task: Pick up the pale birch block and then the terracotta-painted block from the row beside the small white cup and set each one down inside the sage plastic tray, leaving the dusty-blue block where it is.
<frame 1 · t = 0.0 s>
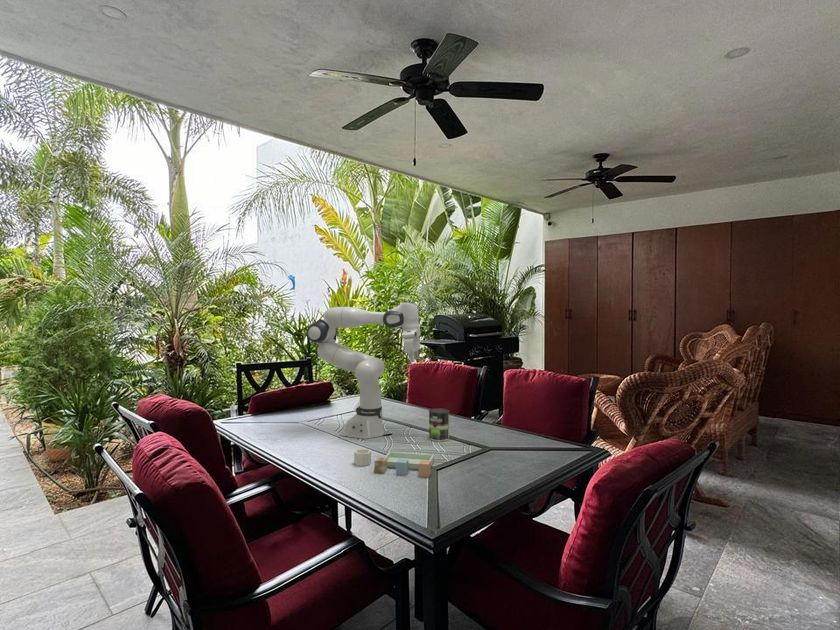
hand: (414, 360, 221), 39 cm above the table, tool pointing down, fingers open, 8 cm apart
terracotta block: (424, 475, 172), on the table
birch block: (380, 471, 175), on the table
coffee can: (439, 438, 219), on the table
blue block: (402, 473, 174), on the table
tray: (408, 464, 183), on the table
cup: (362, 463, 184), on the table
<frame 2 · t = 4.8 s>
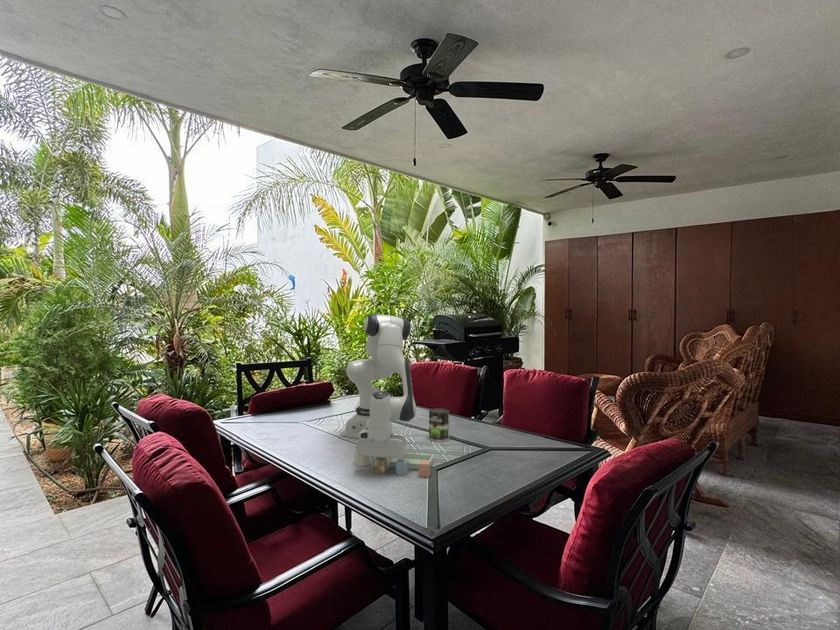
hand: (380, 467, 175), 2 cm above the table, tool pointing down, fingers closed on birch block, 4 cm apart
birch block: (380, 471, 175), on the table, touching gripper
everything else where it was.
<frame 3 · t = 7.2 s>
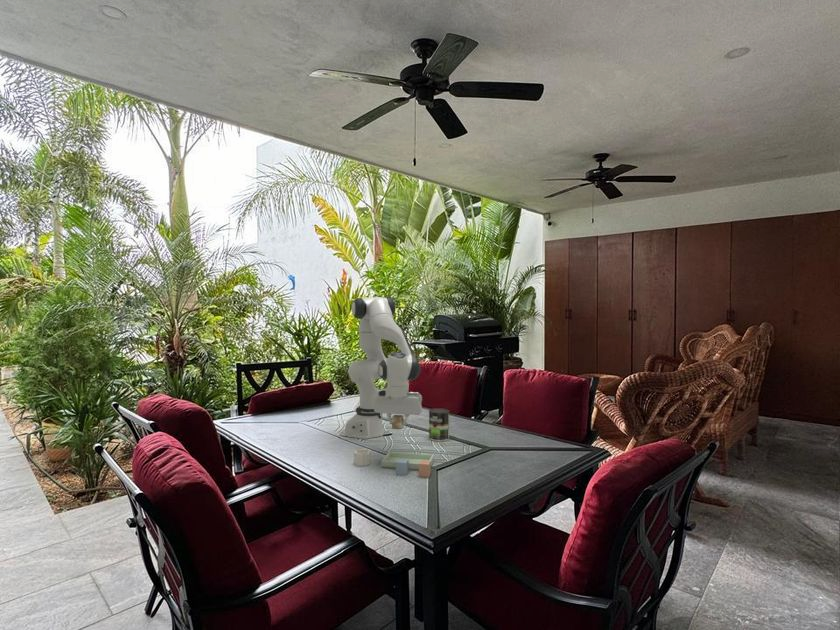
hand: (397, 424, 184), 17 cm above the table, tool pointing down, fingers closed on birch block, 4 cm apart
birch block: (397, 428, 184), point 15 cm above the table, touching gripper
everything else where it was.
when the fingers open (4 cm above the table, at t = 9.8 s): birch block drops 1 cm, resting on tray.
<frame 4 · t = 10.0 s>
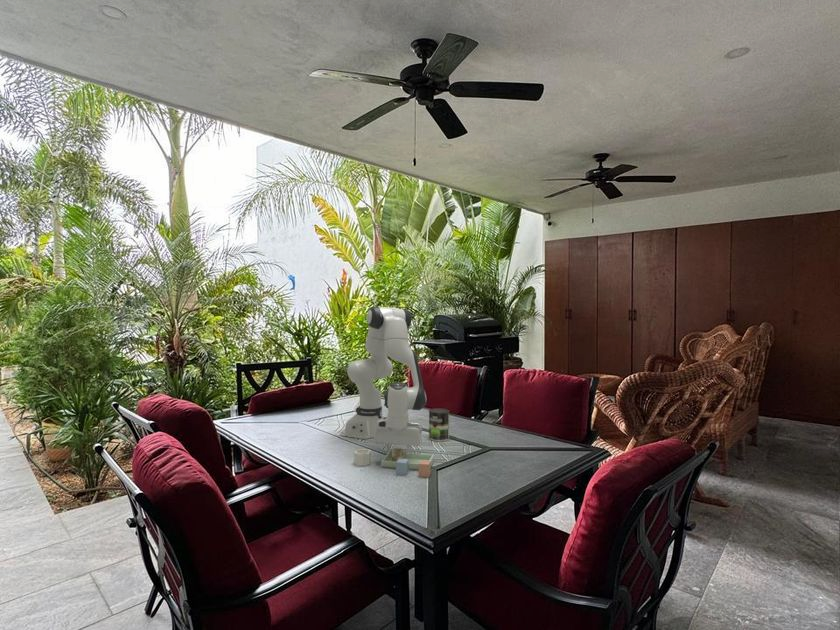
hand: (397, 454, 184), 4 cm above the table, tool pointing down, fingers open, 6 cm apart
birch block: (397, 461, 184), point 1 cm above the table, touching tray
everything else where it was.
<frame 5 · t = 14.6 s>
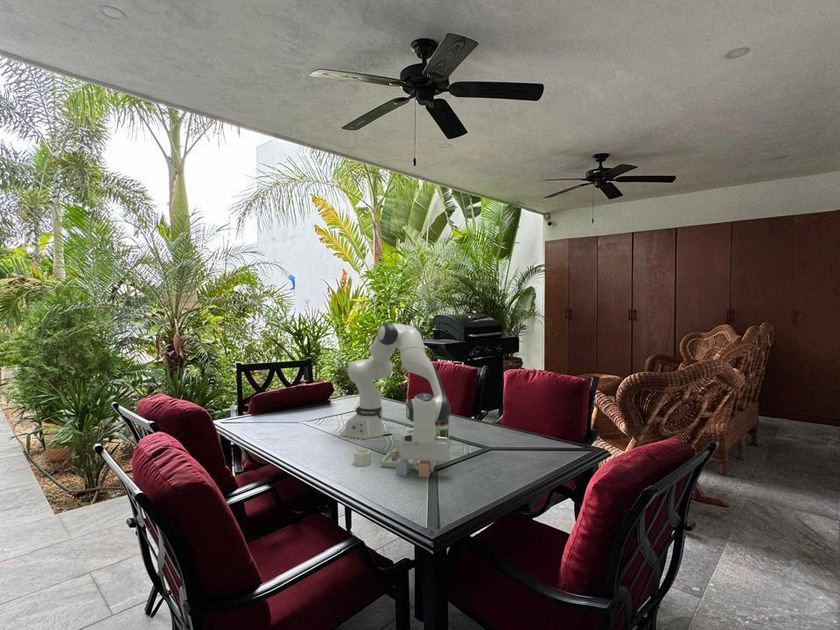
hand: (424, 470, 172), 2 cm above the table, tool pointing down, fingers closed on terracotta block, 4 cm apart
terracotta block: (424, 474, 172), on the table, touching gripper
everything else where it was.
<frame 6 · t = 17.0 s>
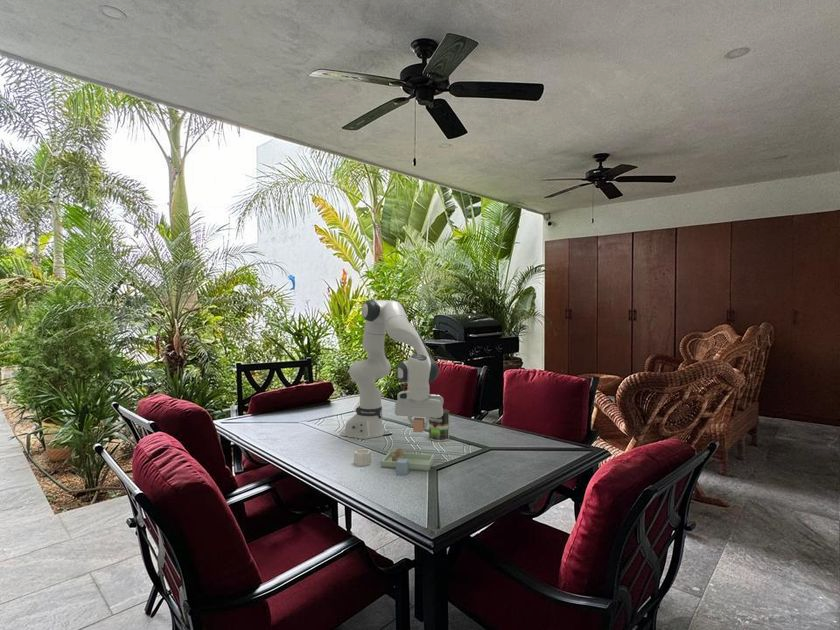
hand: (418, 427, 182), 16 cm above the table, tool pointing down, fingers closed on terracotta block, 4 cm apart
terracotta block: (418, 430, 182), point 14 cm above the table, touching gripper
everything else where it was.
when the fingers open (4 cm above the table, at t = 19.4 s): terracotta block drops 1 cm, resting on tray.
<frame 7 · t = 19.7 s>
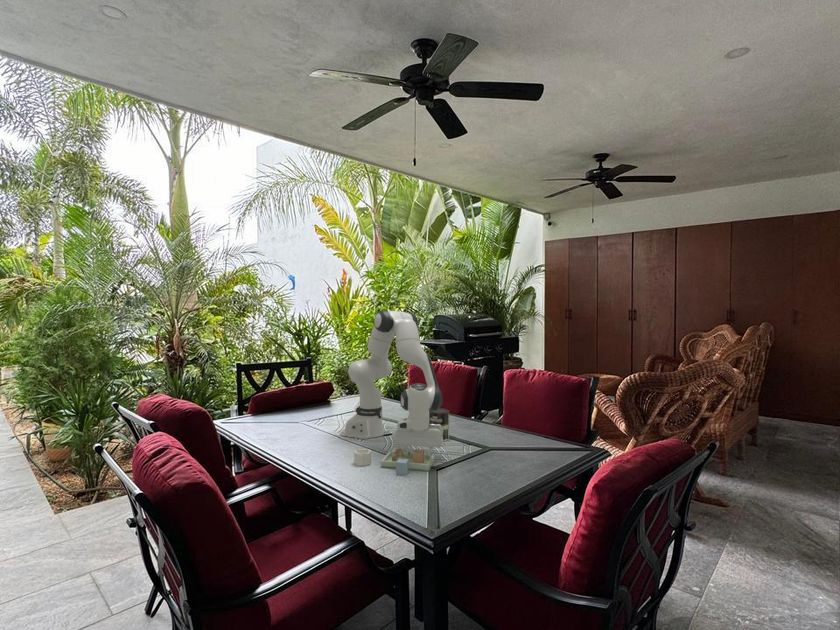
hand: (418, 456, 182), 4 cm above the table, tool pointing down, fingers open, 7 cm apart
terracotta block: (418, 463, 182), point 1 cm above the table, touching tray
everything else where it was.
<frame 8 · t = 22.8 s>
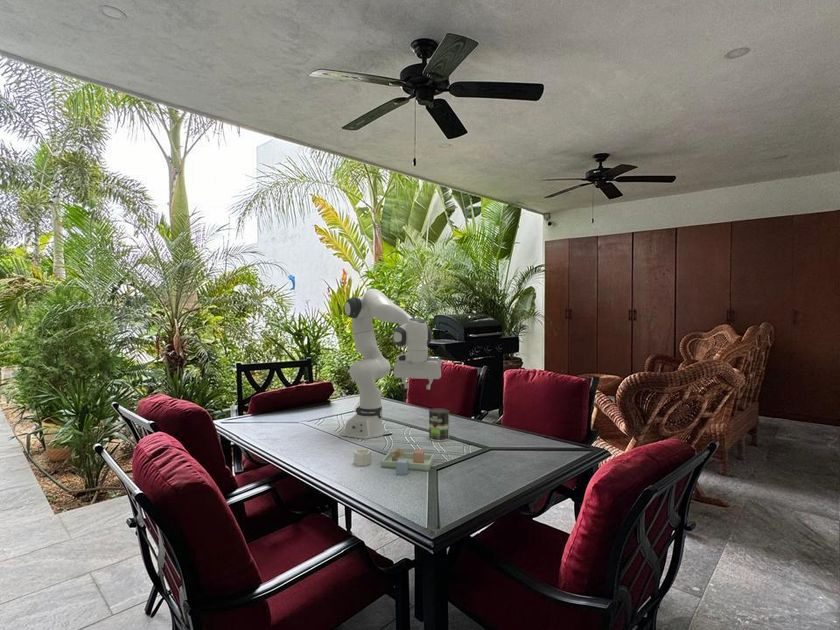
hand: (417, 388, 186), 31 cm above the table, tool pointing down, fingers open, 8 cm apart
nothing on the table moved.
at the end: birch block inside the target area on the tray (4.5 cm from its centre), point 0.6 cm above the tray's base; terracotta block inside the target area on the tray (4.5 cm from its centre), point 0.6 cm above the tray's base; blue block moved 0.1 cm from its start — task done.
